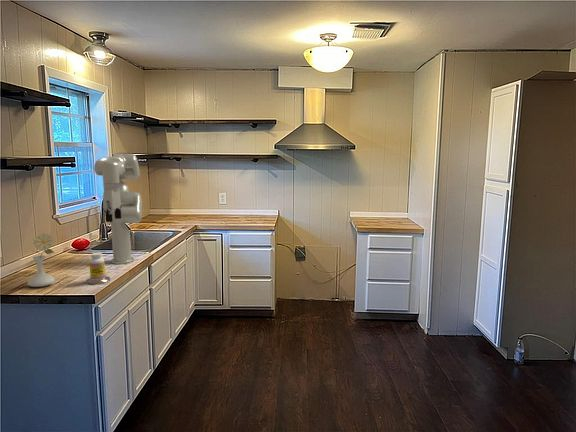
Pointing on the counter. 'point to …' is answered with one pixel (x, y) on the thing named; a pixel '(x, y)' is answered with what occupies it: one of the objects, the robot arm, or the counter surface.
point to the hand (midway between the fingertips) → (113, 220)
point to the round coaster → (97, 281)
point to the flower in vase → (41, 277)
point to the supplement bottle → (97, 267)
